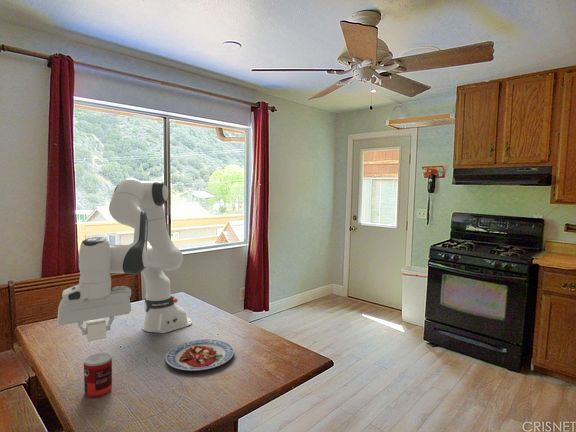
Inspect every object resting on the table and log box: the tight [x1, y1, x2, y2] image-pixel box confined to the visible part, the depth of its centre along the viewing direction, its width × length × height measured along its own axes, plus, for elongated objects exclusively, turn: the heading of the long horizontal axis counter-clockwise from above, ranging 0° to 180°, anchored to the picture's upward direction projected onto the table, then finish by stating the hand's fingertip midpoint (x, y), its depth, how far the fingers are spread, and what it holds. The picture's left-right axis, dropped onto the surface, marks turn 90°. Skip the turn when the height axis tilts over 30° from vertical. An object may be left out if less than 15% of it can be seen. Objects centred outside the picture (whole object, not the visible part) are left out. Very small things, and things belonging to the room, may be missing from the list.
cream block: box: [85, 318, 107, 343], centre depth 109 cm, size 5×5×5 cm
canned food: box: [83, 352, 113, 399], centre depth 111 cm, size 8×8×11 cm
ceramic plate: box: [165, 338, 235, 372], centre depth 135 cm, size 26×26×3 cm
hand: (96, 332), depth 109 cm, fingers closed on cream block, 5 cm apart
